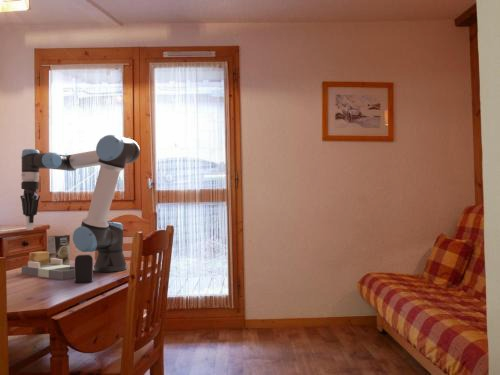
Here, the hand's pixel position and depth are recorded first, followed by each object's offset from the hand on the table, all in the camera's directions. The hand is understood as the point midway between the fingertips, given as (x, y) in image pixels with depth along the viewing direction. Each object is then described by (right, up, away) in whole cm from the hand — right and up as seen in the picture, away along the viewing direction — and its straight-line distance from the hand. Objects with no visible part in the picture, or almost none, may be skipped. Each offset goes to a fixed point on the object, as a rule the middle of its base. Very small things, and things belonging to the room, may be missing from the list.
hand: (29, 229), depth 195 cm
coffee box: (+9, -21, +11) cm, 25 cm away
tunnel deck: (+17, -19, -11) cm, 28 cm away
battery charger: (+38, -19, -29) cm, 51 cm away
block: (+7, -16, -5) cm, 18 cm away
